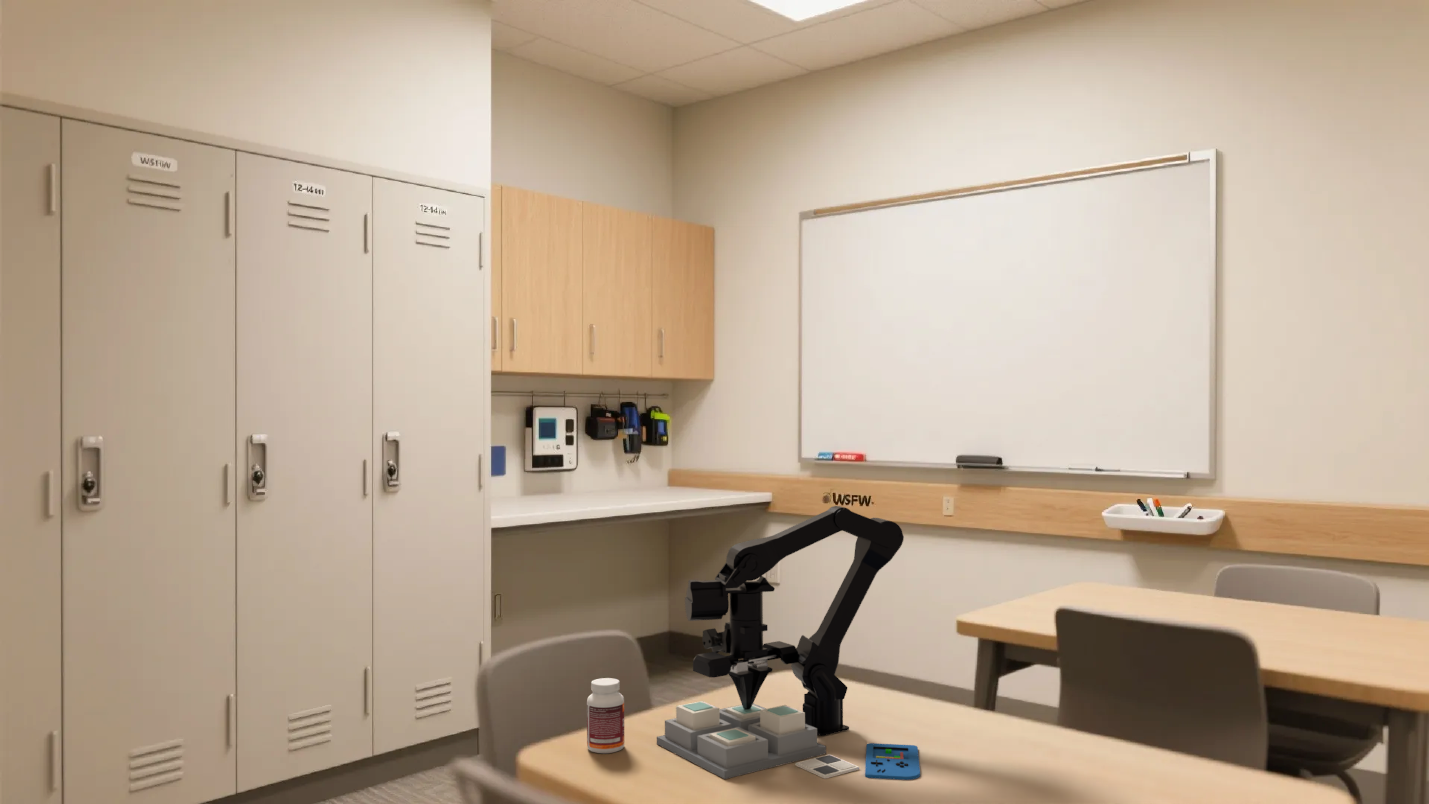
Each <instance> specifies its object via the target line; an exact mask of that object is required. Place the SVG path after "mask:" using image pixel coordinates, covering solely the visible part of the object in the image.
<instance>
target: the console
mask: <svg viewBox="0 0 1429 804" xmlns="http://www.w3.org/2000/svg"><path fill="white" fill-rule="evenodd" d="M740 705H741V704H738V705H735V706H730V707H729V706H728V707H724V708H720V724H719V725H714V726H710V727H705V728H700V729H696V730H691V729H689V728H686V727H684V726H682V725H680V724H678V723H676V717H673V718H670V719H664V735H659V736H656V745H658V746H660V747H662V748H664V749H666V750H668V751H669V752H671V753H673V754H675V755H677V756H679V757H681V758H683V759H685V760H686V761H689V762H691V763H693V764H695V765H697V766H698V767H700V768H702V769H704V770H706V771H708V772H710V773H712V774H713V775H716V776H717V777H720V778H722V779H724V780H727V779H730V778H735V777H739V776H743V775H747V774H751V773H754V772H758V771H763V770H767V769H771V768H775V767H778V766H782V765H787V764H791V763H793V762H795V763H796V762H800V761H801V760H803V761H804V760H805V759H806V760H808V759H812V758H816V757H820V756H824V755H827V746H826V745H824V744H823V743H822V744H821V743H819V742H818V735H817V728H815V727H812V726H810V725H807V724H805V729H803V730H799V731H794V732H790V733H785V734H781V735H778V734H776V733H773V732H771V731H769V730H766V729H764V728H761V727H760V716H757V717H752V718H747V719H743V720H742V719H740V718H738V717H735V716H733V715H731V714H728V713H726V708H731V707H736V706H740ZM753 705H755V706H757V707H760V708H762V709H767V708H765V707H763V706H760V705H759V704H756V703H754V702H753ZM734 728H737V729H740V730H742V731H744V732H746V733H749V734H751V735H753V736H755V741H751V742H746V743H742V744H738V745H733V746H729V747H727V746H725V745H723V744H721V743H718V742H716V741H714V740H712V739H710V734H712V733H716V732H721V731H725V730H730V729H734Z"/></svg>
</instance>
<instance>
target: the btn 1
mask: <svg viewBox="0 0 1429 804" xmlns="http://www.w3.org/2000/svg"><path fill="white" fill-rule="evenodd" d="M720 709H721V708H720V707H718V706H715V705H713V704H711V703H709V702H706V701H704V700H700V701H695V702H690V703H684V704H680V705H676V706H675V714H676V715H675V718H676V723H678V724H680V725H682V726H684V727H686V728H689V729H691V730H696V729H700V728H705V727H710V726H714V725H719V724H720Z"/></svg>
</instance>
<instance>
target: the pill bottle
mask: <svg viewBox="0 0 1429 804" xmlns="http://www.w3.org/2000/svg"><path fill="white" fill-rule="evenodd" d="M590 683H591V684H590V689H591V692H592V693H591V694H590V695H589V696H588V697H587V698H586V699H587V700H586V747H587V749H588V750H589V752H592V753H597V754H611V753H612V754H613V753H617V752H619V751H621V750H623V749H624V748H625V697H624V695H622V693H620V688H621V686H620V685H621V684H620V680H619V679H617V678H611V677H605V678H603V677H601V678H597V679H593V680H591V682H590Z"/></svg>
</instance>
